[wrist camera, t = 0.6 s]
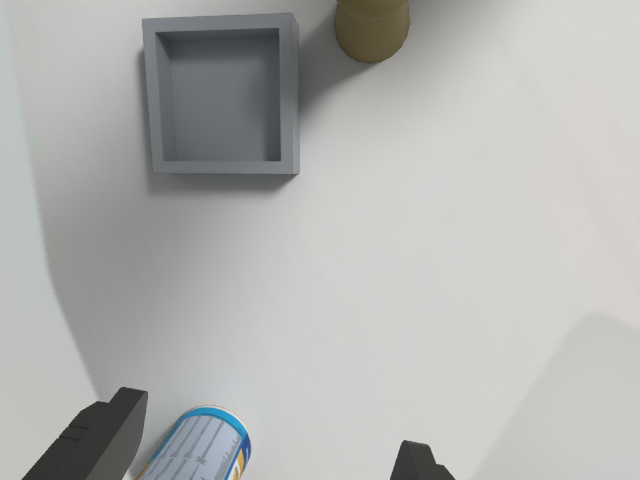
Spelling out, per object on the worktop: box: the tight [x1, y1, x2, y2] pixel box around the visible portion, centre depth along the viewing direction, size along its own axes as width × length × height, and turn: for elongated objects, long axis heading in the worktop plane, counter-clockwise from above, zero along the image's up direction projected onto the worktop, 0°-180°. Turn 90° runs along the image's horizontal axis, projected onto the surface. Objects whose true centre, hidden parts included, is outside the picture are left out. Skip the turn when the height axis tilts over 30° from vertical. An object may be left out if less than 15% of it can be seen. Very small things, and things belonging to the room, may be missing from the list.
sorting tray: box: [142, 13, 299, 174], centre depth 34 cm, size 12×12×3 cm
